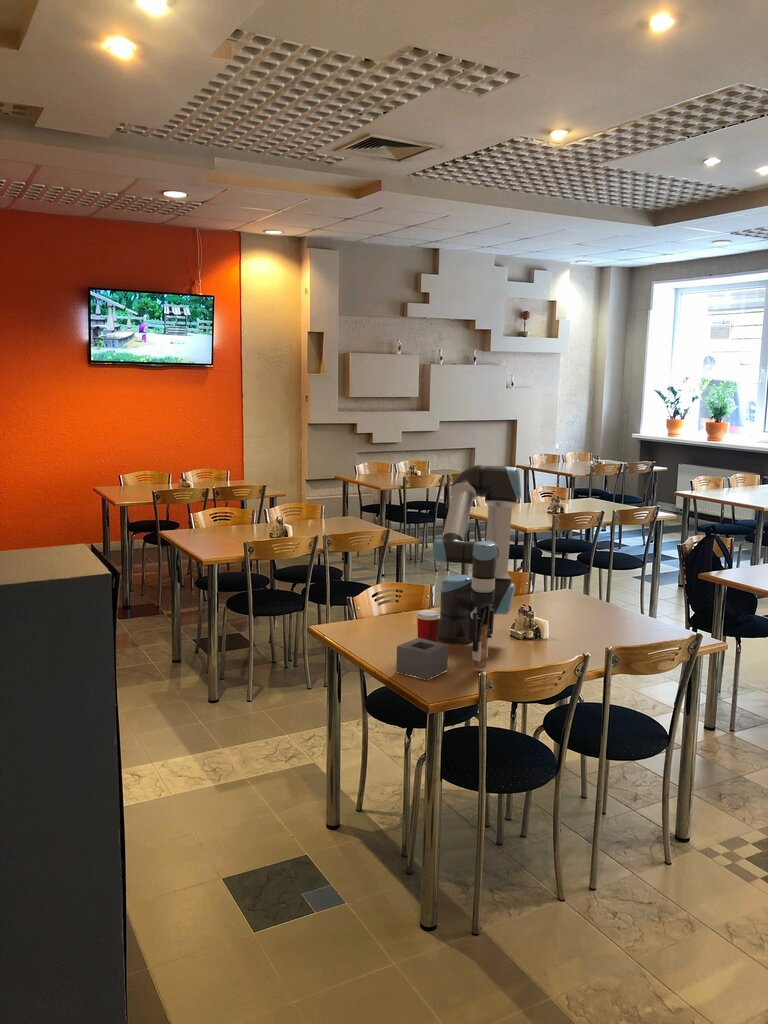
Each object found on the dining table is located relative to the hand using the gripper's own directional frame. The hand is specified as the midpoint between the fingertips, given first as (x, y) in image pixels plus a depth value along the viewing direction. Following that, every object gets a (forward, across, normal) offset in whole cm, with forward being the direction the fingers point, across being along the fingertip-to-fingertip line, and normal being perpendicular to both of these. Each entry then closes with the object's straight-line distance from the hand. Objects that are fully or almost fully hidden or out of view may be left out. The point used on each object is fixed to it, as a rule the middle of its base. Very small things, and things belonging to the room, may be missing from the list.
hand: (479, 658), depth 282 cm
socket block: (+4, +13, -14) cm, 20 cm away
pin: (+3, 0, 0) cm, 3 cm away
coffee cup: (+5, -3, -23) cm, 23 cm away
